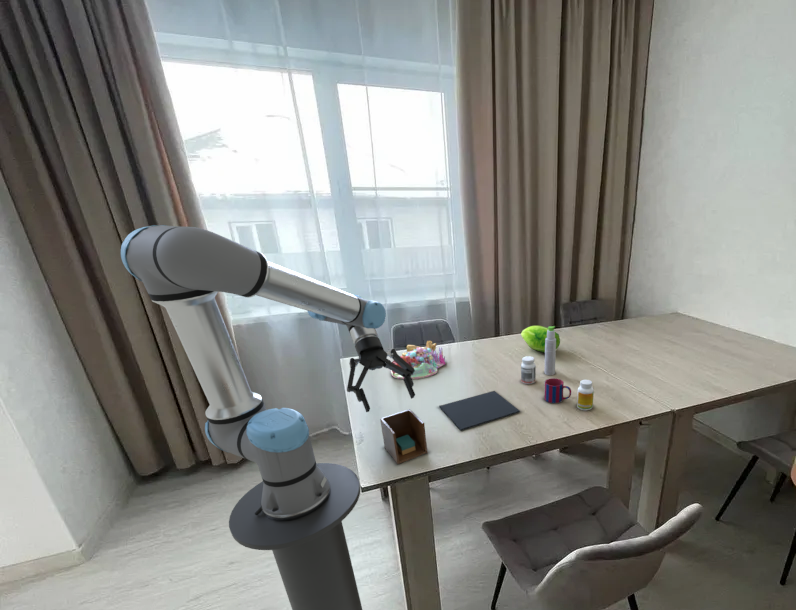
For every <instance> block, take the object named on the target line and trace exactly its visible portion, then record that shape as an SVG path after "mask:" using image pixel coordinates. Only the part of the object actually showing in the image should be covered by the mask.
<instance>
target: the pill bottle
mask: <svg viewBox="0 0 796 610" xmlns="http://www.w3.org/2000/svg"><path fill="white" fill-rule="evenodd" d="M521 361H522V362H521V364H520V381H521V383H522V384H524V385H531V384H532V385H533V384H535V382H536V380H537V379H536V373H537V371H536V368H537V367H536V363H535V357H534V356H532V355H531V356H530V355H528V356H523V357H522V358H521Z"/></svg>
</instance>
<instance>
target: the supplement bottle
mask: <svg viewBox="0 0 796 610" xmlns="http://www.w3.org/2000/svg"><path fill="white" fill-rule="evenodd" d="M594 393H595V389H594V387H593V381H592V380H591V379H581V380H580V382H579V386H578V388H577V394H576V395H577V396H576V397H577V398H576V408H577V409H579V410H580V411H590V410H592V409H593V405H594Z"/></svg>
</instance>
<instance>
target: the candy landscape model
mask: <svg viewBox="0 0 796 610" xmlns="http://www.w3.org/2000/svg"><path fill="white" fill-rule="evenodd" d="M436 349H437V342H435V343H433V341H432V340H427V341H426V344H425V346H418V345H415V344H407V345H406V352H402V353H401V355H399V356H400V357H401V358H402V359H403V360H405V361H406V362H407V363H408V364H409V365H410V366H411V367H412V368H414V369H415V372H414V373H413V375H411V378H412V380H413V379H414V380H419V379H423V378H424V379H425V378H429V377H431V376H433V375H436V374H437V373H438V369H439V368H442V367H443V366H444V365H446V358H445V357H446V356H444V352H443V347H438V351H437V350H436ZM391 362H392V363H394V364H396V365H397V366H399V367H401V366H400V365H399V364H397V363H396V362H395V361H394V360H393V361H391ZM401 368H402V367H401ZM390 374H391V377H393V378H395V379H398V380H400V379H402V380H404V377H403V376H401V375H399V374H397V373H395V372H394V371H392V370H390Z"/></svg>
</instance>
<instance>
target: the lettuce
mask: <svg viewBox="0 0 796 610" xmlns="http://www.w3.org/2000/svg"><path fill="white" fill-rule="evenodd" d="M547 330H548V327H546V326H542V325H530V326H528V327H526V328H524V329H522V331H521V332H520V336H521V338H522V339H523V341H524V342H525V343H526V344H527V346H528V347H529V348H531V349H533V350H534V351H536V352H539V353H540V352H541V353H545V339H546V338H547ZM555 338H556V350H558V349H559V347H560V345H561V338H560V334H559V333H558V332H556V331H555Z"/></svg>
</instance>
